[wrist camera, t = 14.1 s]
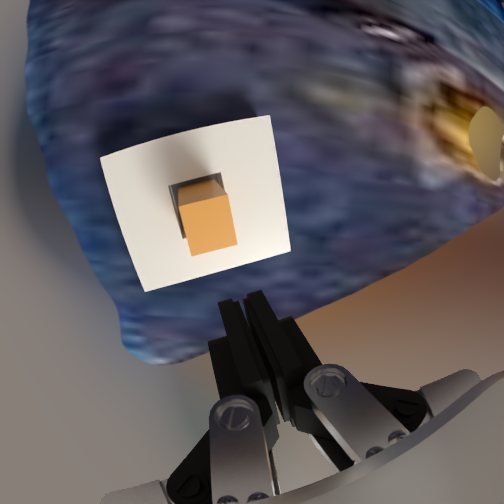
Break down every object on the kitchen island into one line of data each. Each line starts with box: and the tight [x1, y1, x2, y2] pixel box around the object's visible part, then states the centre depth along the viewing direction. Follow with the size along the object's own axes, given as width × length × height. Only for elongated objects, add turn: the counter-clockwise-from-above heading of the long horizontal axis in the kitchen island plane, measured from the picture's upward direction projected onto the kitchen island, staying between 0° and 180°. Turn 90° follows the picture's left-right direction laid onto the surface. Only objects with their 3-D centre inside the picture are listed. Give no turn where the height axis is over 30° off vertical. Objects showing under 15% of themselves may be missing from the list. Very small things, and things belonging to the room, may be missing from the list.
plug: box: [178, 179, 238, 256], centre depth 27 cm, size 4×4×10 cm
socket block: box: [100, 115, 291, 292], centre depth 31 cm, size 16×18×4 cm
